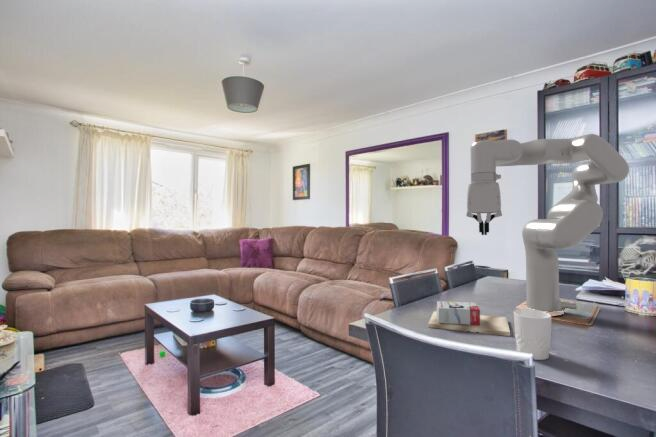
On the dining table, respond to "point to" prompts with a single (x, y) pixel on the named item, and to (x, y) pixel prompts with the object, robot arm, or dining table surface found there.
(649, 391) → the dining table surface
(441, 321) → the ink box
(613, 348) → the dining table surface
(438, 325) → the birch board
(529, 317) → the white cup
